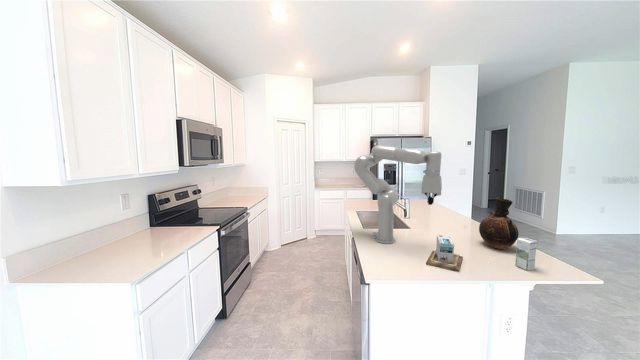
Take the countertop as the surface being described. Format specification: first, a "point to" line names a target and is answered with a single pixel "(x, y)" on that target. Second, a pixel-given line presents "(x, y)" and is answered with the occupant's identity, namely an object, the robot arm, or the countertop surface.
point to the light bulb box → (444, 249)
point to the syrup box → (526, 253)
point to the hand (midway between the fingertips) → (430, 204)
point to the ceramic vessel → (499, 226)
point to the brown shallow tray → (454, 267)
